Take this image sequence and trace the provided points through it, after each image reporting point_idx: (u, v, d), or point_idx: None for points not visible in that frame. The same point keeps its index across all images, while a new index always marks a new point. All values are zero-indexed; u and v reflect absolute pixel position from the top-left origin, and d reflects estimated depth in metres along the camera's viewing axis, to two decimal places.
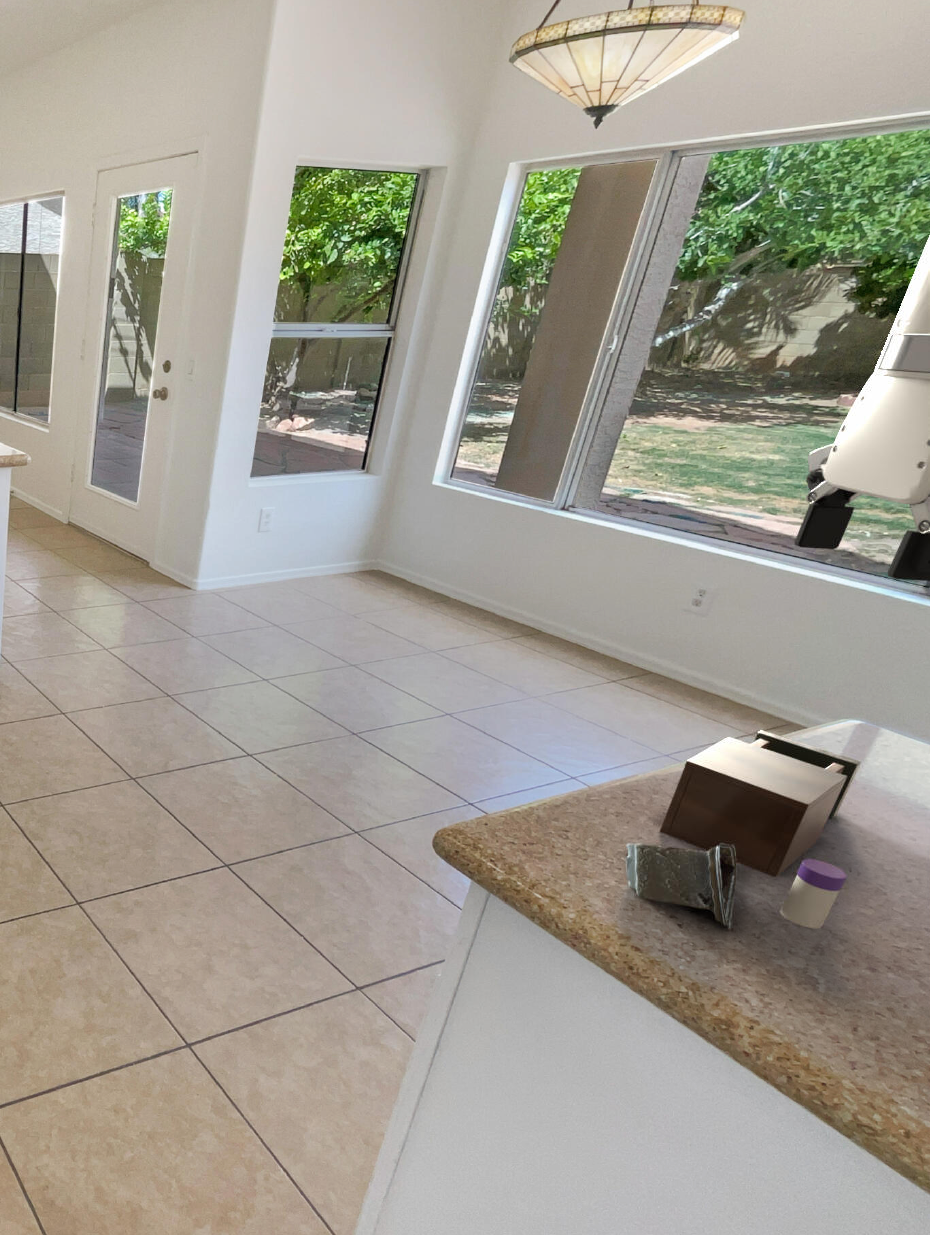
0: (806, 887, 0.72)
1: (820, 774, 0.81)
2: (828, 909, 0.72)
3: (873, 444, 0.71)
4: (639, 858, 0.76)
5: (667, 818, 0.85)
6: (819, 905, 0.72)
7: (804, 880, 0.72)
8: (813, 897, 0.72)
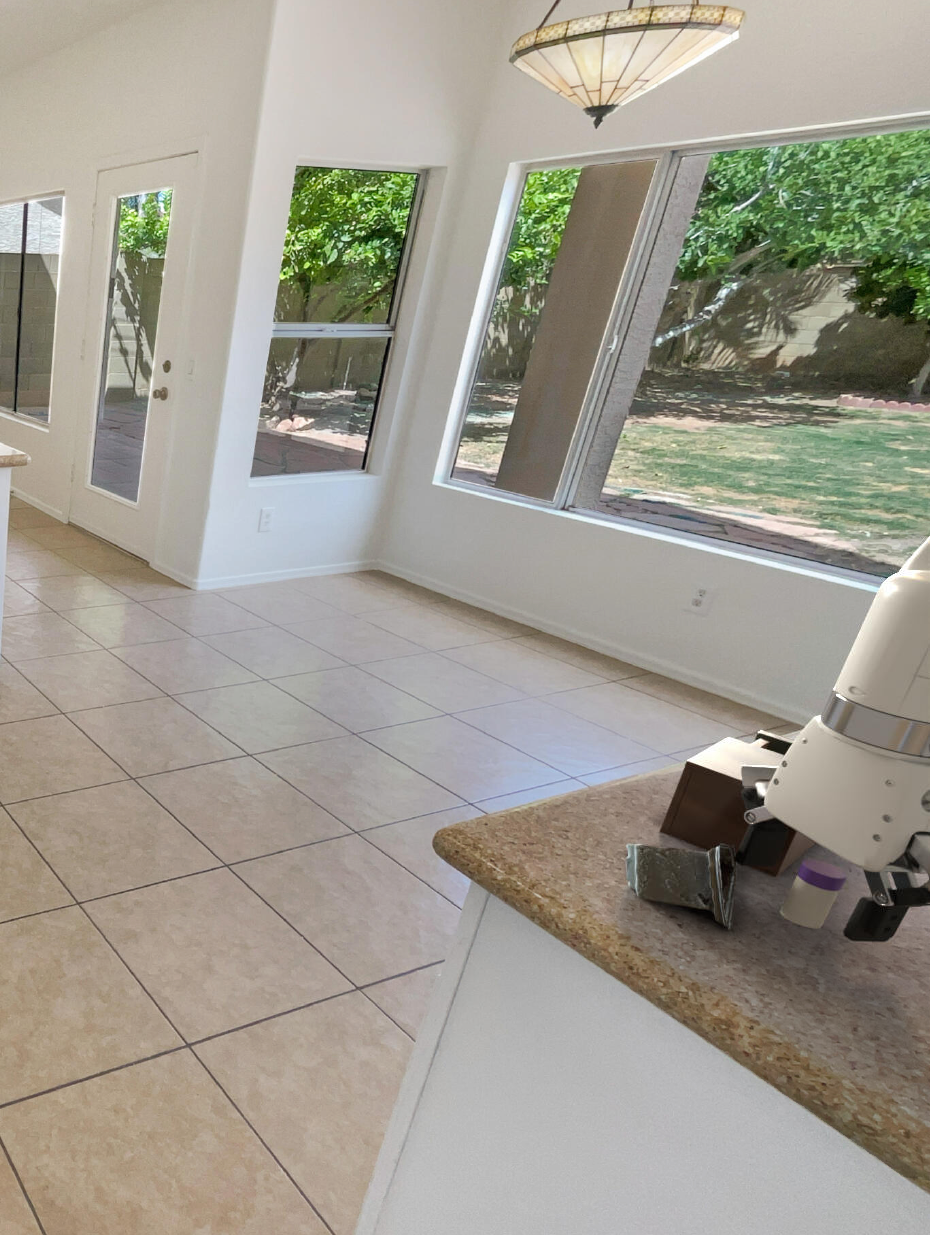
0: (806, 887, 0.72)
1: None
2: (828, 909, 0.72)
3: (821, 796, 0.70)
4: (639, 858, 0.76)
5: (667, 818, 0.85)
6: (819, 905, 0.72)
7: (804, 880, 0.72)
8: (813, 897, 0.72)
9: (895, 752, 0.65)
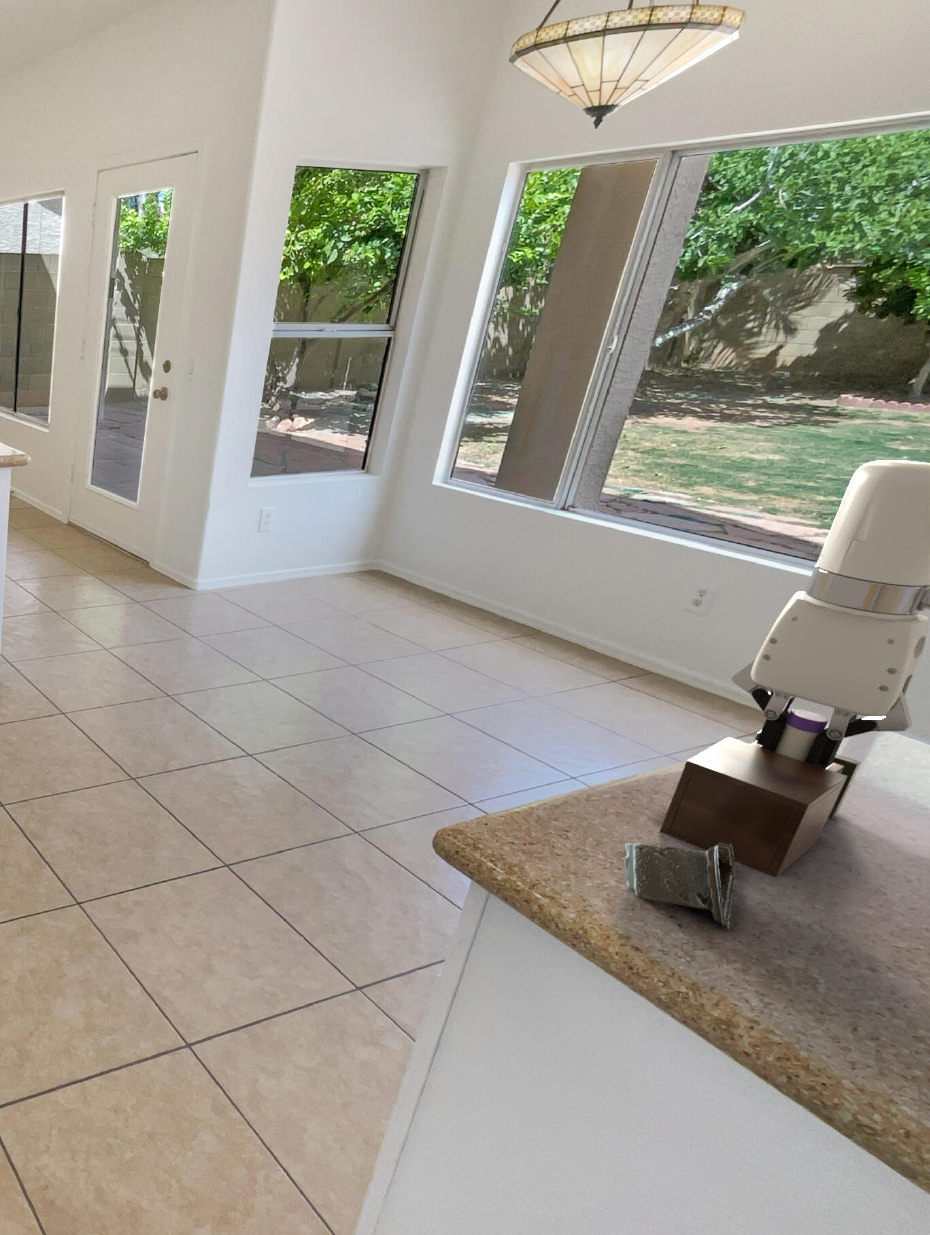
0: (803, 734, 0.84)
1: (820, 774, 0.81)
2: None
3: (821, 662, 0.82)
4: (637, 858, 0.76)
5: (667, 818, 0.85)
6: None
7: (800, 729, 0.84)
8: (809, 741, 0.84)
9: (895, 615, 0.77)
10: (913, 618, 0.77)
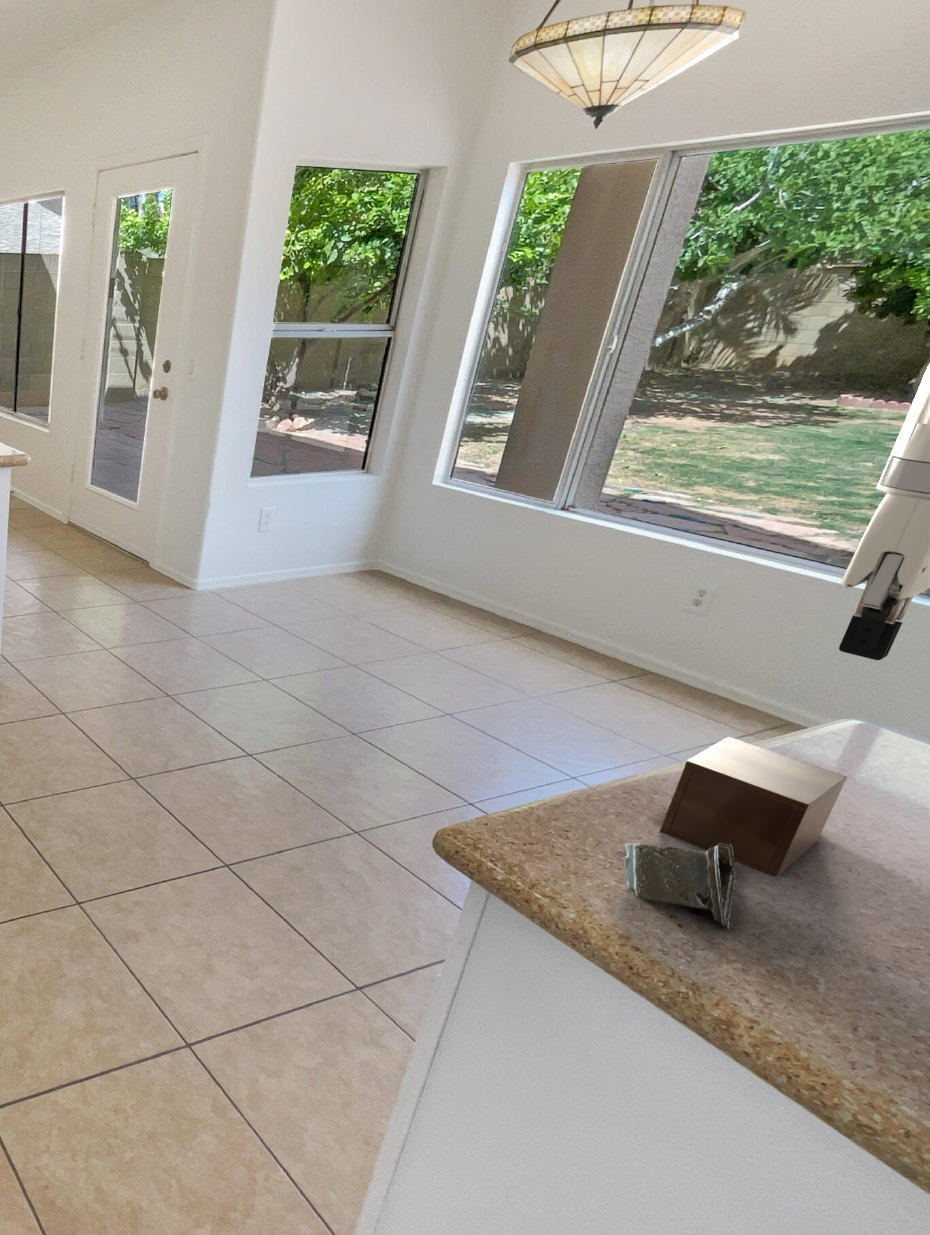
0: None
1: (820, 774, 0.81)
2: None
3: None
4: (637, 858, 0.76)
5: (667, 818, 0.85)
6: None
7: None
8: None
9: None
10: None
